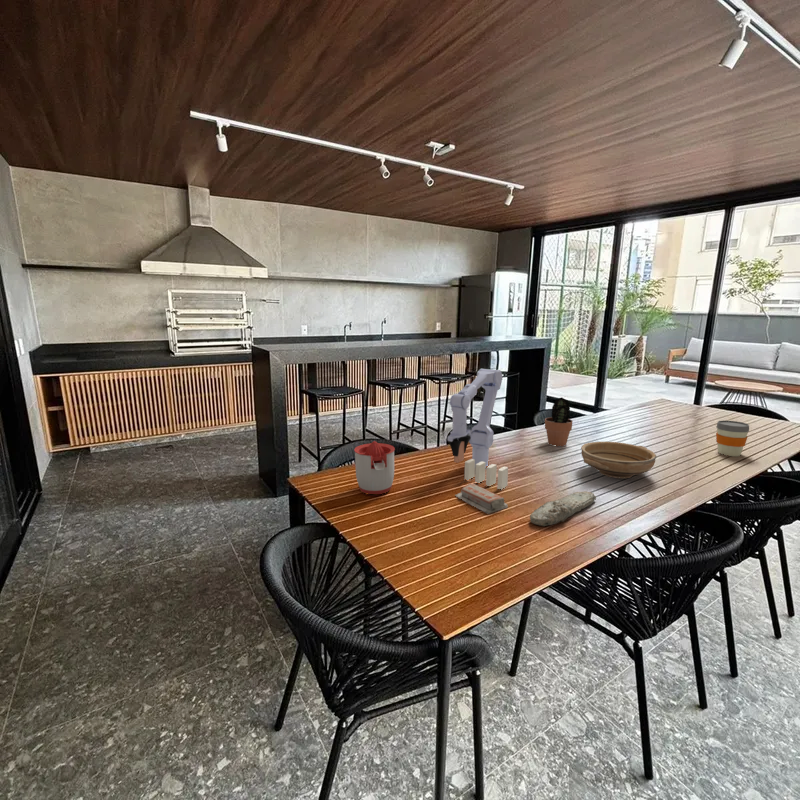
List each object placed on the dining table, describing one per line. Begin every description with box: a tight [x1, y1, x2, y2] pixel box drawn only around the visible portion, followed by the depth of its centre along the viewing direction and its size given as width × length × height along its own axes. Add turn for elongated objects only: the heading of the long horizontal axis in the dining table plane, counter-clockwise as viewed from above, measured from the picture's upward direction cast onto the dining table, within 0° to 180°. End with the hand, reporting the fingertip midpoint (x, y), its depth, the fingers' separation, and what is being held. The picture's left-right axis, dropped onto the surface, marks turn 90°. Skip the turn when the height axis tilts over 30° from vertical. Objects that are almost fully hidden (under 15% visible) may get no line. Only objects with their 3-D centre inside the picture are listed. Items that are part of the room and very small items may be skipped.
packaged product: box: [454, 483, 508, 515], centre depth 157 cm, size 18×5×10 cm
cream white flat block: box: [464, 458, 475, 480], centre depth 178 cm, size 2×5×8 cm, turn 140°
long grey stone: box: [529, 490, 597, 527], centre depth 148 cm, size 35×5×10 cm
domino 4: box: [485, 463, 498, 487], centre depth 172 cm, size 2×5×8 cm, turn 140°
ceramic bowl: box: [580, 441, 657, 479], centre depth 183 cm, size 37×29×10 cm
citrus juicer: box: [353, 440, 396, 495], centre depth 166 cm, size 16×17×20 cm
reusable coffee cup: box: [715, 420, 750, 457], centre depth 207 cm, size 12×13×15 cm
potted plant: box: [544, 397, 573, 447], centre depth 224 cm, size 14×14×25 cm
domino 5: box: [496, 466, 509, 491], centre depth 169 cm, size 2×5×8 cm, turn 140°
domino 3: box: [474, 461, 487, 484], centre depth 175 cm, size 2×5×8 cm, turn 140°
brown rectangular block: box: [453, 441, 465, 463], centre depth 180 cm, size 2×5×8 cm, turn 139°
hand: (459, 454), depth 180 cm, fingers closed on brown rectangular block, 5 cm apart
